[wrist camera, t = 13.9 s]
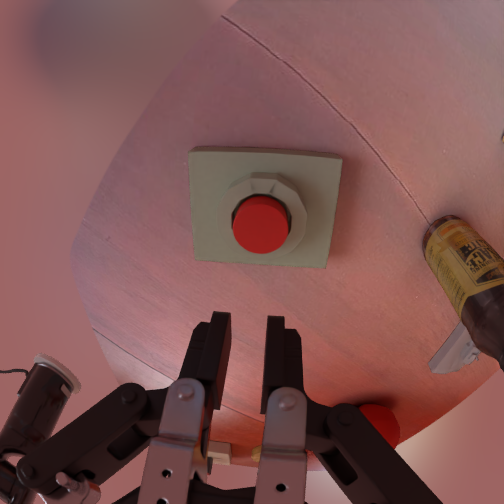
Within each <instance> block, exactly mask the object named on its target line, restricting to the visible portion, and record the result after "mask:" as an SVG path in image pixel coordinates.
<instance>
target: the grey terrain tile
mask: <svg viewBox="0 0 504 504" xmlns="http://www.w3.org/2000/svg"><path fill="white" fill-rule="evenodd" d="M480 353H481V351H480V350H478V349H477V348H476V346H475V344H474V343H473V341H472V339H471V337H470V335H469V332H468V330H467V328H466V327H465V326H464V325H463V324H462V322H461V321H460V323H459V324H458V325H457V327H456V328H455V330H454V331H453V332H452V334H451V335H450V336H449V338H448V339H447V340H446V342H445V343H444V344H443V345H442V347H441V348H440V349H439V351H438V352H437V353H436V354H435V355H434V357H433V358H432V359H431V360H430V361H429V363H428V365H429V367H430V370H431V372H432V373H438V374H447V373H449V372H457V371H459V370H460V369H461V368H462V367H463V366H464V365H465V364H469V362H470V364H471V363H472V362H473V361H474V360H475V359H476V360H477V361H478V360H479V359H478V357H477V356H478V355H479V354H480ZM470 364H469V365H470Z"/></svg>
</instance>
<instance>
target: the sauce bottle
mask: <svg viewBox="0 0 504 504" xmlns="http://www.w3.org/2000/svg"><path fill="white" fill-rule="evenodd" d="M423 252H424V257H425V260H426V261H427V263H428V265H429V267H430V268H431V270H432V272H433V273H434V275H435V276H436V278H437V280H438V281H439V283H440V285H441V286H442V288H443V290H444V291H445V293H446V295H447V296H448V298H449V300H450V302H451V303H452V305H453V307H454V309H455V311H456V312H457V314H458V316H459V318H460V320H461V322H462V324H463V325H464V326H465V327H466V328H467V330H468V332H469V335H470V337H471V339H472V341H473V343H474V344H475V346H476V348H477V349H478V350H480V351H481V352H483V353H485V354H486V355H488V356H491V357H493V358H495V359H496V360H497V361H498V362H499V365H500V368H501V369H502V370H503V371H504V260H503V258H501V256H500V255H499V254H498V253H497V252H496V251H495V250H494V249H493V248H492V247H491V246H490V245H489V244H488V243H487V242H486V241H485V240H484V239H483V238H482V237H481V236H480V235H479V234H478V233H477V232H476V231H475V230H474V229H473V228H472V227H471V226H470V225H469V224H468V223H466V222H464V221H462V220H461V219H460V218H458V217H455V216H453V215H452V216H446V217H442V218H441V219H438V220H436V221H435V222H434V223H433V224H432V225H431V226H430V228H429V229H428V231H427V233H426V234H425V237H424V240H423Z"/></svg>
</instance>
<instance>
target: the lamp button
mask: <svg viewBox="0 0 504 504" xmlns="http://www.w3.org/2000/svg"><path fill="white" fill-rule="evenodd" d="M233 234H234V237H235V239H236V241H237V242H238V243H239V245H240V246H242V247H243V248H244V249H246V250H247V251H249V252H252V253H257V254H266V253H270V252H273V251H275V250H277V249H278V248H279V247H281V246H282V245H283V243H284V242H285V240H286V238H287V235H288V218H287V213H286V211H285V209H284V207H283V206H282V205H281V204H280V203H279V202H278V201H276V200H275V199H273V198H270V197H266V196H256V197H252V198H250V199H248V200H246V201H245V202H243V203H242V204H241V206H240V207H239V209H238V210H237V213H236V216H235V219H234V222H233Z"/></svg>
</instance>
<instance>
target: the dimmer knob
mask: <svg viewBox="0 0 504 504" xmlns="http://www.w3.org/2000/svg"><path fill="white" fill-rule="evenodd" d="M212 463H213V458H212V457H207V475H210V474H211V469H212Z"/></svg>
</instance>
